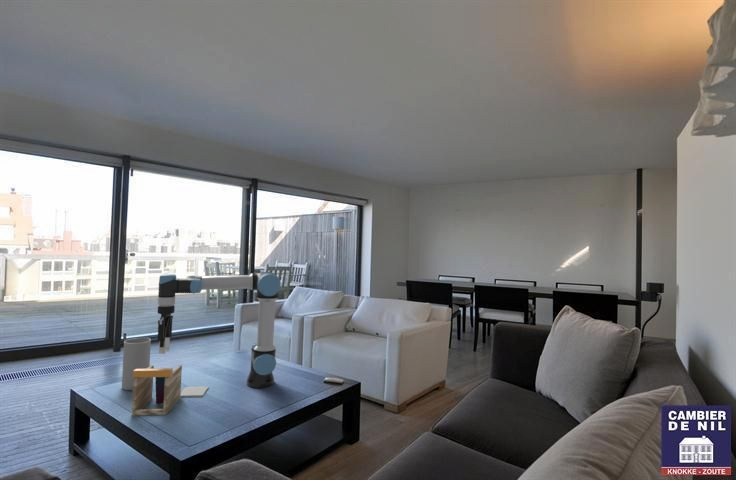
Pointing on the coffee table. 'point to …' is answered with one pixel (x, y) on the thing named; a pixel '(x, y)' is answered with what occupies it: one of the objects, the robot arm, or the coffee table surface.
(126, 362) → the cylinder vase
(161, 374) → the tie bar
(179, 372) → the cradle
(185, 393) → the pad
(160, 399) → the cup
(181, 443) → the coffee table surface
